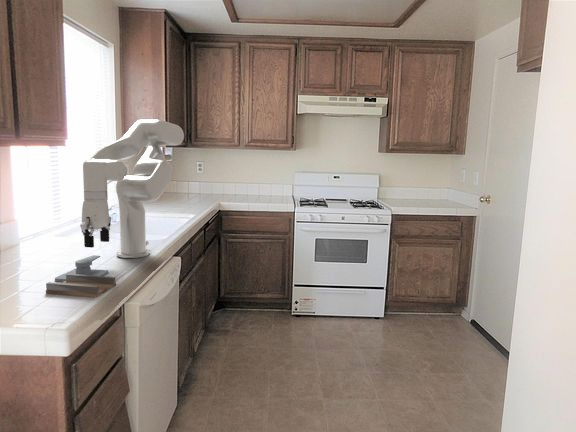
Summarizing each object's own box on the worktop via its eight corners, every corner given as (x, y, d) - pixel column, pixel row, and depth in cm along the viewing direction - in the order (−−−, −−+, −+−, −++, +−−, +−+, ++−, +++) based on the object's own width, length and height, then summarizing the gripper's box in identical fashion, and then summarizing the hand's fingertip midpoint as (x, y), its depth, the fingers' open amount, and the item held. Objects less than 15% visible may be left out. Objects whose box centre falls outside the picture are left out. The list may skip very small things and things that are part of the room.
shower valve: (113, 255, 151) (88, 267, 137) (113, 271, 152) (89, 283, 138) (80, 253, 153) (52, 264, 138) (80, 268, 154) (53, 281, 139)
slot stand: (69, 282, 138) (68, 273, 138) (116, 285, 136) (115, 276, 136) (45, 293, 127) (45, 283, 127) (96, 297, 126) (96, 287, 125)
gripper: (99, 193, 159) (100, 239, 161) (70, 198, 142) (72, 248, 144) (118, 194, 158) (119, 240, 160) (91, 199, 141) (93, 250, 143)
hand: (97, 244), depth 152 cm, fingers open, 9 cm apart
